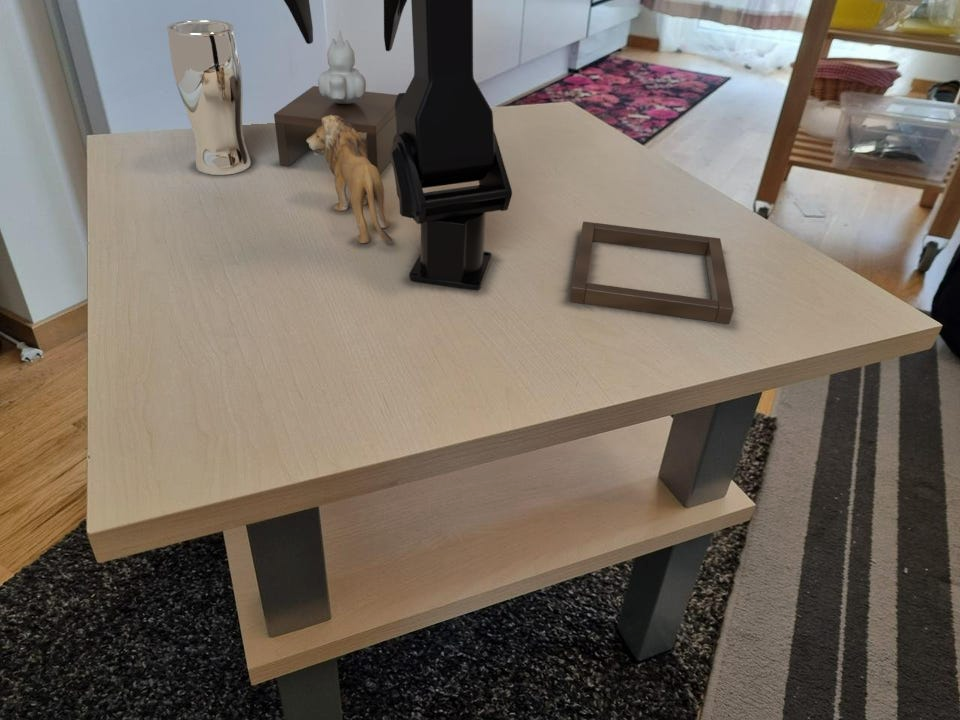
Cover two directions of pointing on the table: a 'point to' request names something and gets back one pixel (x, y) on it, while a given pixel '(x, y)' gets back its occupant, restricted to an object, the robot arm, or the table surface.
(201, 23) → the beer glass
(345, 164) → the lion figurine
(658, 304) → the brown rectangular frame
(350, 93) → the white figurine
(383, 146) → the small brown stand
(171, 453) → the table surface
